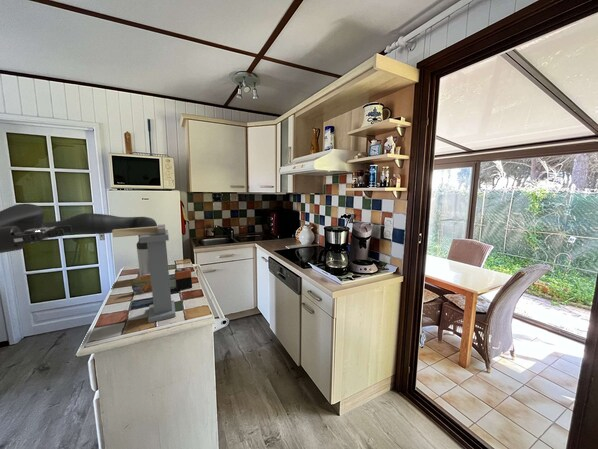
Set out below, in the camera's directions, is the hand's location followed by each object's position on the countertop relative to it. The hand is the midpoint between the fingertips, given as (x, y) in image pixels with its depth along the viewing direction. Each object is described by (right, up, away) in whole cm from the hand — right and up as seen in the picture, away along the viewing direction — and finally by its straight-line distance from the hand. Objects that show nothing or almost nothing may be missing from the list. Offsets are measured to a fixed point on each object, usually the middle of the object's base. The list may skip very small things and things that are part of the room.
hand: (67, 230), depth 82 cm
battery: (+19, -29, +41) cm, 54 cm away
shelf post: (+21, -33, +17) cm, 43 cm away
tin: (+5, -30, +38) cm, 49 cm away
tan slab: (+17, -2, +10) cm, 20 cm away
